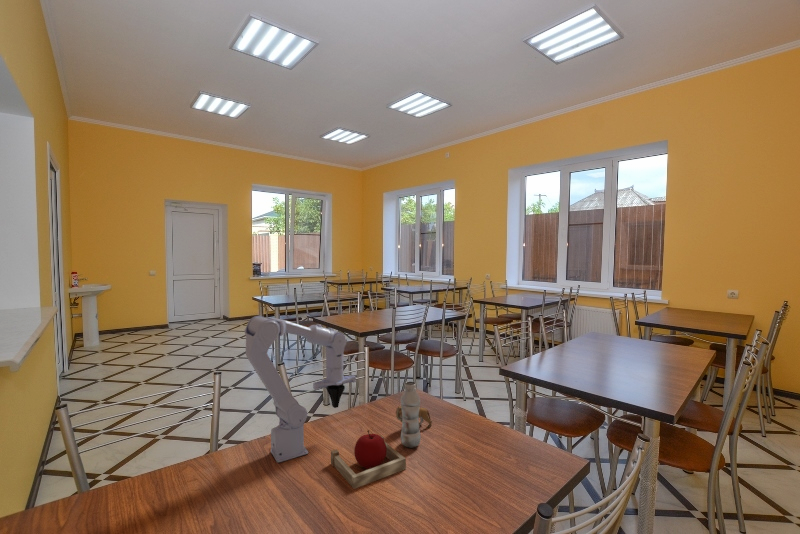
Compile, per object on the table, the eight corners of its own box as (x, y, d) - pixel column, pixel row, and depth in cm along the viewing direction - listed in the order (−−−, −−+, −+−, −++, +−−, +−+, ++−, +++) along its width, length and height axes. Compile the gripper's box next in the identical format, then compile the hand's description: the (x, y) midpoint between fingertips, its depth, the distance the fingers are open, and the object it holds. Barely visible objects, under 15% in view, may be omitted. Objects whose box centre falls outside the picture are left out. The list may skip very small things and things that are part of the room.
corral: (352, 489, 98) (352, 475, 98) (330, 463, 110) (330, 451, 110) (406, 468, 108) (406, 455, 107) (381, 447, 120) (381, 435, 119)
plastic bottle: (421, 440, 124) (420, 380, 123) (420, 451, 117) (420, 387, 116) (401, 439, 124) (401, 379, 124) (399, 450, 118) (399, 386, 117)
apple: (356, 476, 104) (356, 440, 104) (352, 458, 113) (352, 426, 112) (389, 471, 106) (389, 436, 106) (383, 454, 115) (382, 422, 115)
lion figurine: (400, 436, 127) (400, 410, 126) (392, 430, 131) (392, 404, 131) (436, 426, 134) (436, 401, 133) (427, 420, 138) (427, 396, 138)
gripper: (318, 373, 119) (318, 415, 120) (359, 366, 127) (359, 405, 127) (310, 367, 125) (311, 408, 126) (350, 361, 133) (351, 399, 133)
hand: (335, 406), depth 127 cm, fingers closed
